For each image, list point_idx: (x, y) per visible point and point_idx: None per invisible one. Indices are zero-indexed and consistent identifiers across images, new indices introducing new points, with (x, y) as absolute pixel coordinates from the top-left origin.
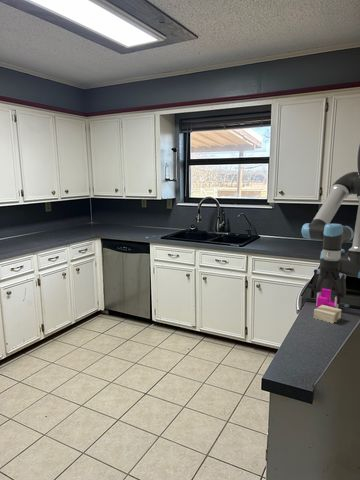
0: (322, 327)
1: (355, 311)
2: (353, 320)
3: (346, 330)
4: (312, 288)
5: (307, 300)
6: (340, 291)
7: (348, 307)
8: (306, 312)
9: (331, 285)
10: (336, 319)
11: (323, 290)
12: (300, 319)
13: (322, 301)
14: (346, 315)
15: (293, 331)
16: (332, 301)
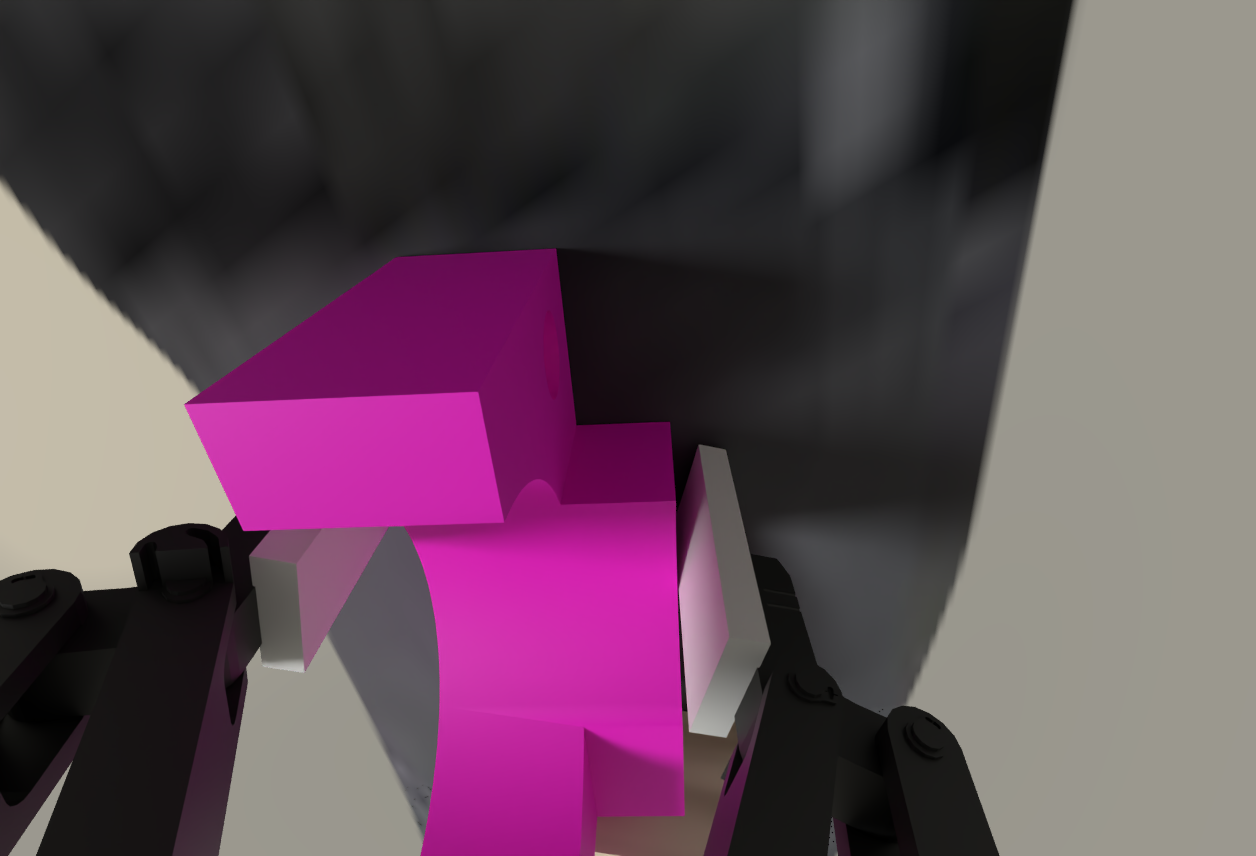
0: None
1: (1009, 341)
2: (923, 661)
3: (835, 850)
4: (58, 723)
5: (96, 201)
6: (825, 806)
7: (905, 181)
8: (385, 677)
9: None
10: None
11: (301, 519)
12: (423, 822)
13: None
14: (848, 562)
15: None
16: (622, 501)
